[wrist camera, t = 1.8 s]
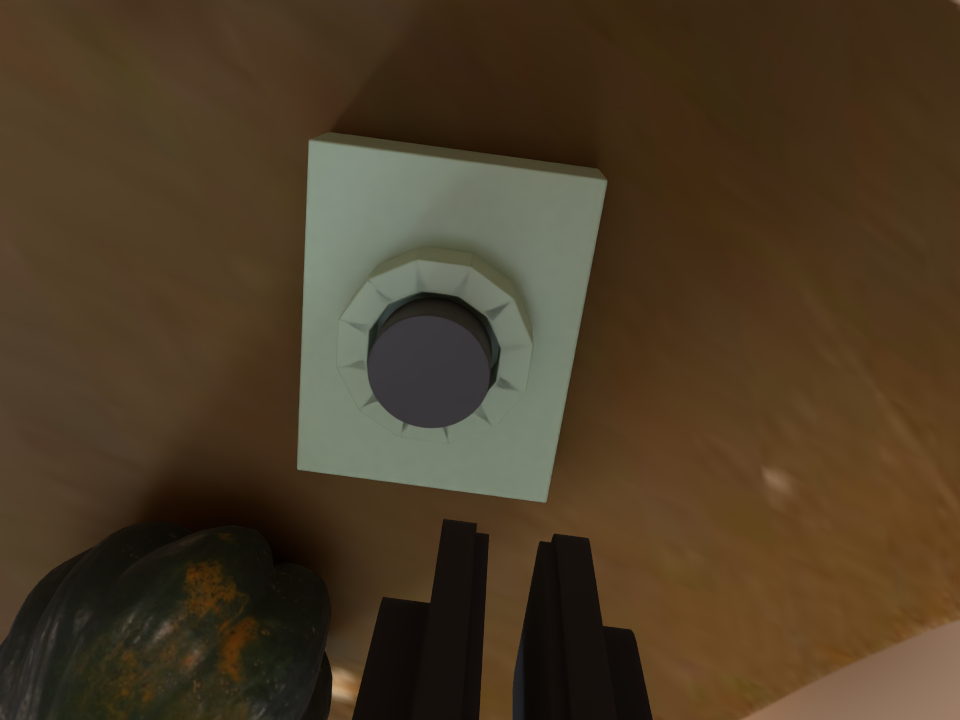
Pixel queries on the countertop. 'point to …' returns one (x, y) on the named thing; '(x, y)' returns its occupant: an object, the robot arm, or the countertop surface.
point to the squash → (170, 633)
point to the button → (431, 363)
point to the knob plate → (449, 275)
